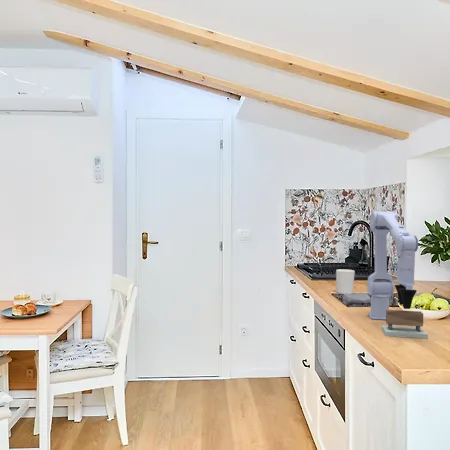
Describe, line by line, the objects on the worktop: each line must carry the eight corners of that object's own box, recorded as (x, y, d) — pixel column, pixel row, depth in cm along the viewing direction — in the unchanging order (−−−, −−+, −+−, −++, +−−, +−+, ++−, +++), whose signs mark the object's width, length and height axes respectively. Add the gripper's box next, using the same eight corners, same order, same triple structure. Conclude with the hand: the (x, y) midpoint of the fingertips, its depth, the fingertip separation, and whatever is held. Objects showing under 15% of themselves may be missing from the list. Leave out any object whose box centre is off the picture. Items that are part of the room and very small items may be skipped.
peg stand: (381, 329, 180) (381, 319, 179) (421, 331, 177) (421, 322, 177) (385, 336, 170) (386, 326, 170) (427, 338, 167) (427, 328, 167)
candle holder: (331, 292, 257) (332, 270, 257) (341, 290, 265) (341, 268, 264) (348, 295, 251) (349, 272, 250) (357, 292, 258) (358, 270, 258)
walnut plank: (385, 321, 176) (386, 309, 176) (420, 323, 174) (420, 311, 174) (387, 324, 172) (388, 311, 172) (422, 326, 170) (423, 313, 170)
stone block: (372, 307, 229) (365, 299, 239) (373, 298, 228) (365, 290, 237) (348, 308, 228) (341, 300, 238) (348, 299, 227) (342, 291, 237)
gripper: (390, 266, 180) (389, 302, 181) (397, 271, 166) (396, 310, 167) (410, 267, 179) (409, 303, 180) (419, 271, 165) (418, 311, 165)
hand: (404, 306), depth 173 cm, fingers open, 7 cm apart
